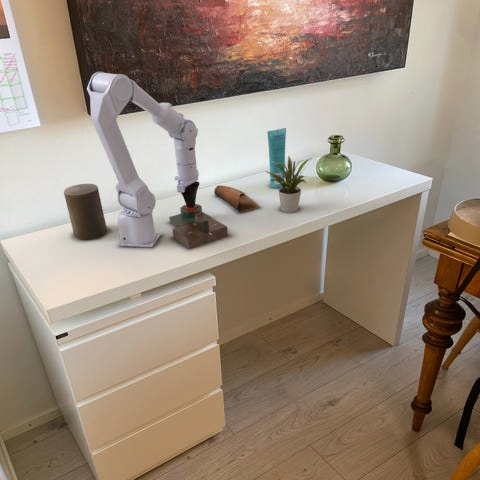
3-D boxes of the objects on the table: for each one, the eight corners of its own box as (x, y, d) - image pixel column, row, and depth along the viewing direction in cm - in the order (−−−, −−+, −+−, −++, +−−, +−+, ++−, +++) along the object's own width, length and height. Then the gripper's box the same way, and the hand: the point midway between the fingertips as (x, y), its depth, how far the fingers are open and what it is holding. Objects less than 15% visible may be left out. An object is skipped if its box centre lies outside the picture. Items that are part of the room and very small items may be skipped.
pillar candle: (99, 240, 145) (88, 190, 136) (68, 239, 147) (55, 190, 138) (112, 227, 153) (102, 179, 144) (82, 226, 154) (71, 178, 146)
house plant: (295, 196, 167) (296, 146, 158) (323, 208, 157) (325, 156, 148) (260, 206, 161) (259, 155, 152) (287, 220, 151) (287, 166, 142)
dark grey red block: (209, 231, 139) (208, 219, 137) (204, 233, 139) (203, 220, 137) (200, 225, 143) (199, 212, 141) (195, 226, 143) (194, 214, 141)
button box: (182, 231, 148) (181, 218, 146) (168, 222, 154) (167, 210, 152) (211, 222, 152) (210, 210, 150) (196, 214, 158) (195, 202, 156)
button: (189, 216, 151) (188, 210, 150) (183, 213, 154) (182, 206, 153) (199, 213, 153) (199, 207, 152) (193, 210, 155) (193, 203, 154)
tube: (280, 181, 180) (280, 126, 169) (289, 185, 177) (290, 128, 166) (264, 186, 176) (263, 130, 165) (273, 190, 173) (273, 132, 162)
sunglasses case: (261, 206, 160) (251, 191, 155) (245, 220, 160) (234, 206, 155) (235, 190, 173) (226, 175, 169) (221, 203, 173) (210, 189, 169)
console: (192, 251, 137) (191, 240, 135) (173, 238, 144) (172, 228, 142) (231, 238, 142) (231, 227, 141) (211, 226, 150) (210, 216, 148)
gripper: (181, 154, 151) (185, 197, 159) (164, 169, 140) (170, 215, 147) (203, 155, 150) (207, 198, 157) (188, 170, 138) (193, 216, 146)
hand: (191, 207), depth 152 cm, fingers closed, pressing on button
